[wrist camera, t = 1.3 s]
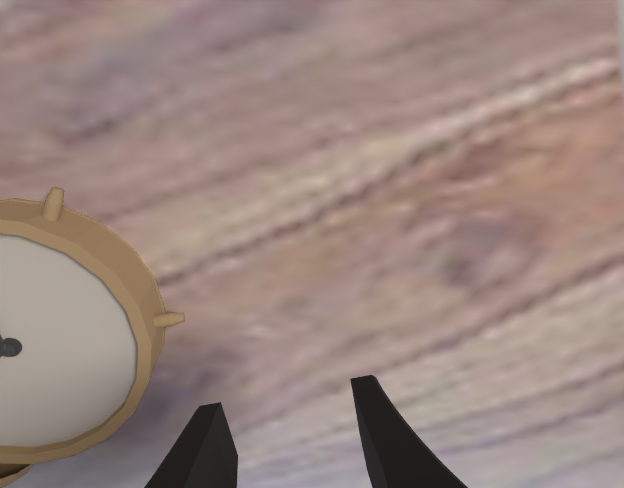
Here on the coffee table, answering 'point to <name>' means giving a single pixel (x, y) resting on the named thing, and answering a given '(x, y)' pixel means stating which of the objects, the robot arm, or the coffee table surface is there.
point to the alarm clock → (70, 332)
